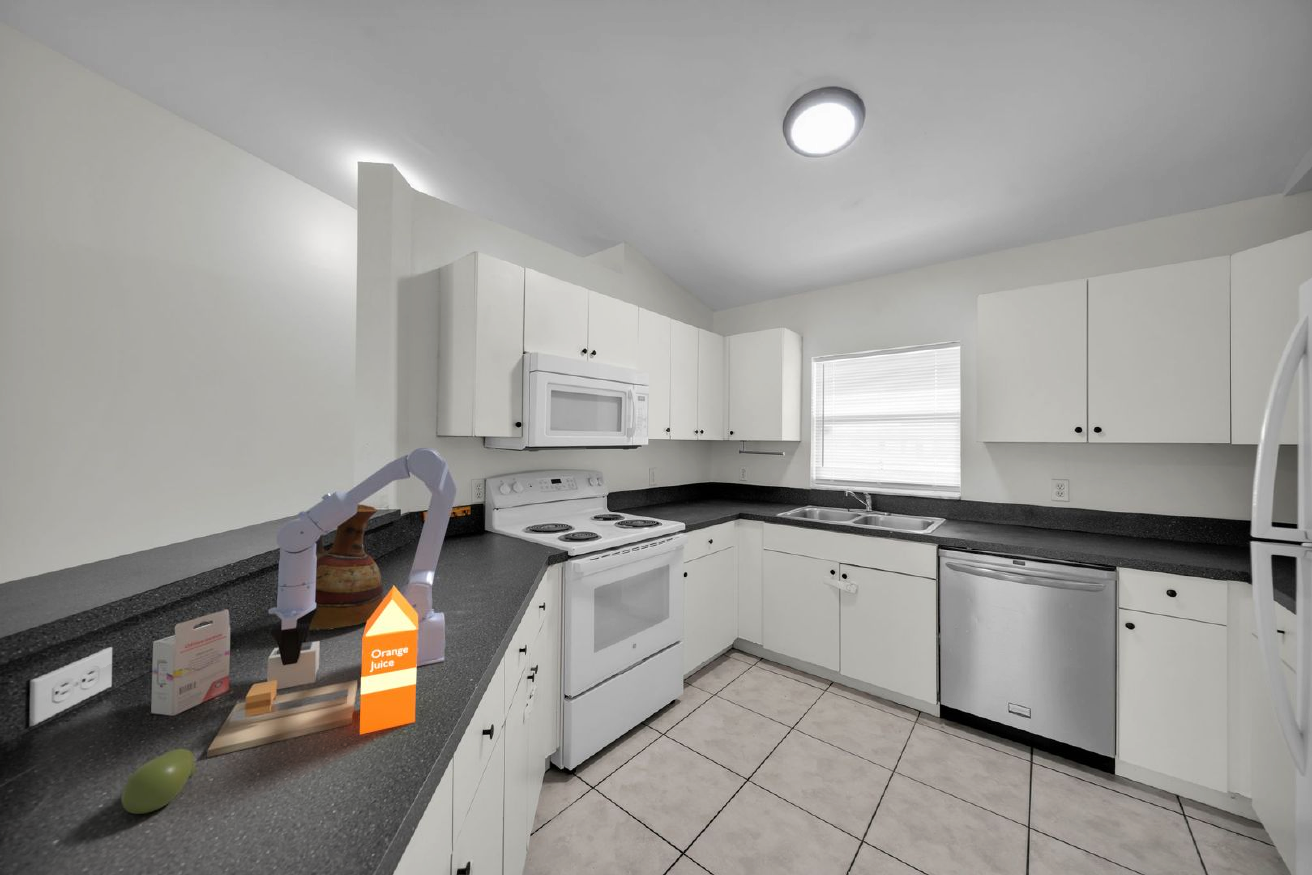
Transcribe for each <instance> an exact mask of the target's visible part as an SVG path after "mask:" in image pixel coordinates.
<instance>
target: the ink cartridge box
mask: <svg viewBox="0 0 1312 875" xmlns="http://www.w3.org/2000/svg"><path fill="white" fill-rule="evenodd" d="M229 612H230V611H229V609H223V610H220V611H217V612H214V613H209V614H205V615H203V616H200V617H199V616H198V617H196V618H194V619H191V620H186V621H184V622H183V621H182V622H180V623H179V622H178V623H177V624H176V625H175V626H174V635H171V636H167V637H164V638H161V639H158V640H157V639H156V640H155V641H153V643H152V665H151V666H152V669H151V670H152V673H151V703H150V704H151V708H150V709H151V710H150V713H151V714H157V715H164V716H171V717H172V716H177V715H179V714H181V713H182V712H185V711H187V710H189V709H191V708H194V707H196V706H198V705H200V704H203V703H204V702H207V701H209V700H212V699H213V698H215V697H218V696H220V695H222V694H224V693H226V692H228V691H229V689H230V688H229V685H230V660H231V659H230V657H231V655H230V654H231V625H230V613H229ZM202 622H205V623H207V622H212V623H209V624H205V625H203V626H199V627H197V628H194V627H196V626H198V625H200V624H201V623H202Z"/></svg>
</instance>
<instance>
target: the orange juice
mask: <svg viewBox="0 0 1312 875" xmlns="http://www.w3.org/2000/svg"><path fill="white" fill-rule="evenodd" d="M365 623H366V624H365V626H364V632H363V634H362V638H361V639H362V642H361V644H362V648H361V649H362V650H361V677H360V711H359V712H360V715H359V717H360V718H359V719H360V720H359V735H363V734H367V733H368V734H369V733H373V732H377V731H381V730H386V729H390V728H394V727H399V726H403V725H406V724H411V723H416V697H417V696H416V693H417V692H416V690H417V689H416V688H417V687H416V686H417V667H418V666H417V665H416V659H417V630H418V614H417V613H416V611H415V610H414V609H413V608H412V607H411V605H410V604H409V603H408V602H407V601H406V599H405V598H404V597H403V596H402V595H401V593H400V590H398V588H397V587H396V586H395V585H394V584H393V585H392V587H391V589H390V590H389V592H388V593H387V594H386V596H385V597H383V600H382V602H381V604H380V605H379V606H378V608H377V609H376V610H375V612H374V613H373V614H372V616H371V617H370V618H369V620H367V622H365Z"/></svg>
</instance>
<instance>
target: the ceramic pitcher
mask: <svg viewBox="0 0 1312 875" xmlns="http://www.w3.org/2000/svg"><path fill="white" fill-rule="evenodd" d="M376 513H378V509H376V508H375V507H373V506H370V505H366V504H360V503H359V504H358V507H357V513H356V514H355V515H354V516H352V517H351V518H349V519H348V520H346V521H345V522H343V523H342V524H341V525H339V526H338V527H336V533H335V538H334V542H333V543H332V546H331V547H330V548H329V550H328V551H326V550H325V548H324V544H323V535H320V537H319V539H318V540H317V541H316V542H315V543H316V556H317V564H316V590H315V603H316V607H318V610H317V612H316V613H315V615H314V617H313V619H312V622H311V625H310V628H309V631H316V630H315V629H322V630H323V629H328V630H331V628H337V629H340V628H339V627H342V628H346V627H345V626H349V627H352V626H351V625H353V626H358V625H361V624H363V623H367V620H369V618H370V617H371V616H372V614H373V613H374V612H375V610H376V609H377V608H378V606H379V605H380V604H381V602H382V601H383V600H384V586H383V585H384V584H383V580H382V576H381V571H380V569H379V566H378V564H377V563H376V561H375V560H374V559H373V557H371V556H370V555H369V554H367V553H366V552H365V549H364V545H363V544H364V542H363V541H364V535H365V533H366V527H367V524H368V522H369V520H370V519H371V518H372V517H373V516H374V515H375V514H376Z"/></svg>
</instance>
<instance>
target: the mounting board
mask: <svg viewBox="0 0 1312 875" xmlns="http://www.w3.org/2000/svg"><path fill="white" fill-rule="evenodd" d="M346 689H349V695H348V701H347V703H345V704H340V705H335V706H330V707H326V708H321V709H316V710H312V711H307V712H302V713H298V714H293V715H288V716H284V717H279V718H274V719H269V720H265V721H260V722H255V723H251V724H246V725H241V726H237V727H232V728H229V721H230V719H231V718H232V716H233V714H234V713H235V712H237V711H242V710H245V706H246V701H243V702H239V703H236V704H235V706H234V707H233V708H232V710H231V712H230V713H229V715H228V716H227V718H226V720H225V721H224V723H223V725H222V726H221V728H220V729H219V730H218V732H217V735H216V736H215V737H214V739H213V741H212V742H211V744H210V745H209V746H208V748H207V753H206V754H207V755H206V756H207V757H206V758H210V757H212V758H213V757H216V756H220V755H224V754H229V753H233V752H238V751H242V750H246V749H249V748H254V747H258V746H262V745H268V744H272V743H274V742H275V743H276V742H278V741H279V742H281V741H283V740H285V741H286V740H288V739H293V738H297V737H302V736H306V735H310V734H314V733H319V732H324V731H327V730H332V729H335V728H341V727H344V726H348V725H352V722H353V715H354V709H355V703H356V696H357V692H358V691H357V690H358V679H357V680H352V681H347V682H345V681H344V682H341V683H335V684H330V685H326V686H325V685H324V686H320V687H319V686H318V687H314V688H309V689H305V690H300V691H294V692H290V693H284V694H280V695H277V697H276V700H273V701H272V703H271V705H272V704H277V703H282V702H287V701H291V700H296V699H301V698H306V697H311V696H316V695H321V694H326V693H331V692H336V691H341V690H346Z"/></svg>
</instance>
